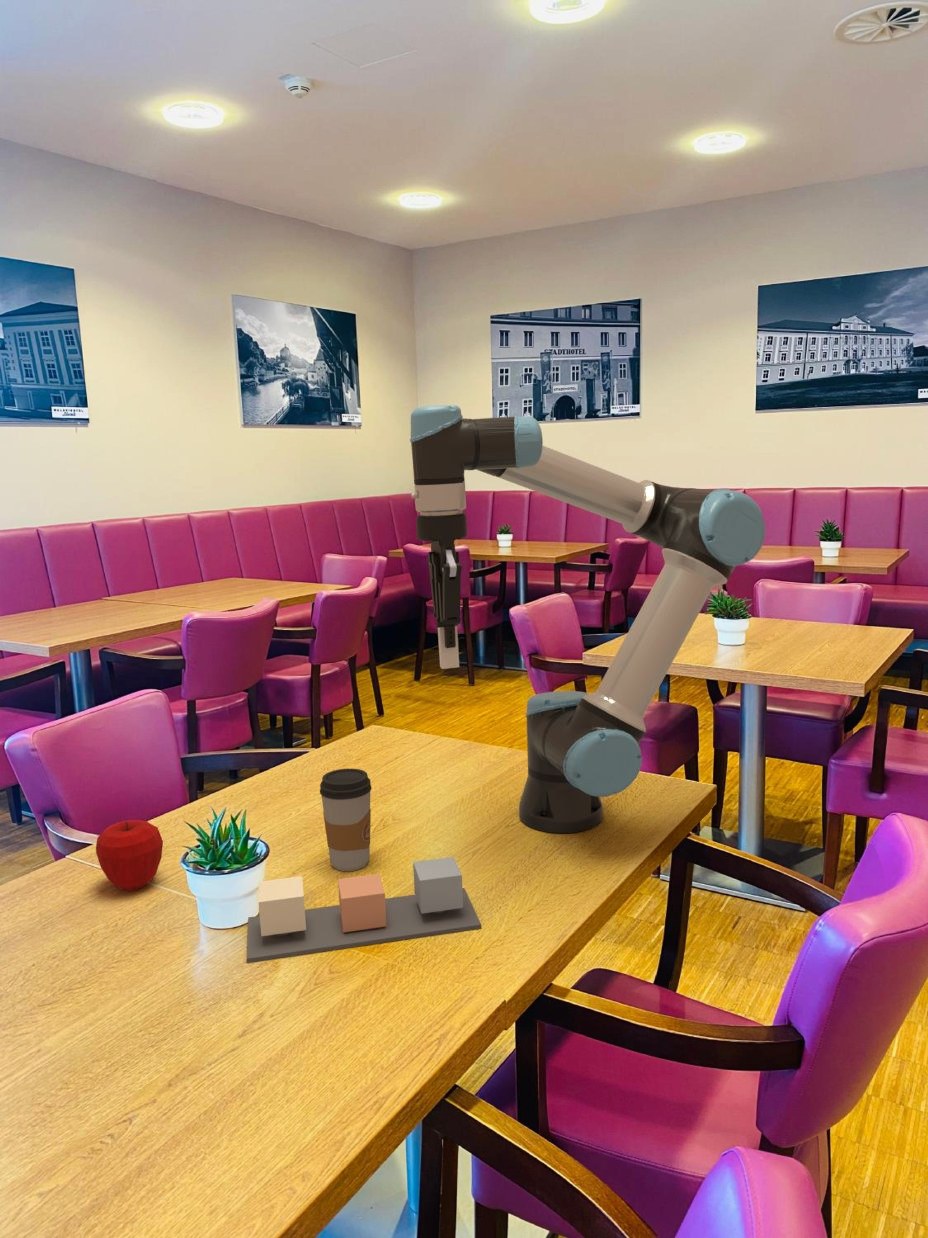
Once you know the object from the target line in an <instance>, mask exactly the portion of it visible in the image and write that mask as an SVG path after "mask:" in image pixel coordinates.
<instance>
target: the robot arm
mask: <svg viewBox="0 0 928 1238" xmlns="http://www.w3.org/2000/svg"><path fill="white" fill-rule="evenodd" d="M409 441H410V443H411V445H410V446H411V455H412V456H411V457H412V468H413V484H414V487H413V488H414V490H415V491H411V493H410V497H411V498H412V499H414V500H415V501H414V503H415V511H416V512H417V513H419V515H417V516H416V517H415V526H416V527H415V528H416V538H417V539H418V540H419V541H422V542H430V551H428V552H427V557H426V561H427V565H428V570H429V581H430V589H431V597H432V598H431V599H432V608H433V609H432V610H433V617H434V618H435V621H436V623H435V628H436V629H437V637H438V653H439V654H438V655H439V667H440V669H442V670H444V669H445V670H446V669H455V668H460V656H459V653H460V652H459V637H458V636H459V635H458V625H460V624H461V622H462V621H461V620H462V617H461V586H462V585H461V582H462V581H461V576H462V569H463V565H462V563H461V562H460V552H459V551H456V546H455V541H456V540H462V539H465V538H467V536H468V523H467V522H468V521H467V518H468V517H467V515H466V513H465V512H463V511H464V510H465V509H467V498H466V497H467V496H466V482H465V471H474V470H476V471H478V472H482V473H485V474H487V475H490V476H493V477H496V478H499V479H502V480H504V481H507V482H510V483H513V484H516V485H518V486H521V487H523V488H525V489H528V490H531V491H533V492H537V493H540V494H541V495H544V496H547V497H550V498H552V499H555V500H558V501H560V502H563V503H566V504H568V505H571V506H573V507H577V508H579V509H582V510H584V511H587V512H590V513H592V514H595V515H598V516H601V517H603V518H606V519H609V520H612V521H614V522H617V523H620V524H621V526H622V527H623V529H624V531H625V532H627V533H630V534H632V535H634V536H636V537H639V538H641V539H644V540H646V541H648V542H650V543H652V544H654V545H657V546H659V547H660V548H662V550H661V553H662V556H663V560H664V561H663V562H664V565H663V567H662V569H661V571H660V573H659V574H658V576H657V578H656V580H655V582H654V584H653V586H652V587H651V589H650V592H649V593H648V595H647V597H646V598H645V600H644V602H643V604H642V606H641V607H640V610H639V612H638V614H636V615H637V616H636V617H635V619H634V621H633V622H632V624H631V626H630V628H629V630H628V632H627V633H626V636H625V638H624V640H623V641H622V642H621V645H620V647H619V648H618V651H617V652H616V653H615V656H614V658H613V660H612V662H611V664H610V665H609V667H608V668H607V671H606V672H605V674H604V676H603V678H602V680H601V682H599V683H600V684H599V686H598V687H597V689H596V690H595V691H594V692H592V693H588V692H584V691H577V690H576V691H575V690H561V691H548V692H547V691H546V692H542V693H537V694H534V695H532V696H531V697H529V699H528V700H527V703H526V712H525V717H526V743H527V778H526V781H525V784H524V787H523V791H522V794H521V797H520V800H519V803H518V817H519V820H520V821H521V822H522V824H523V825H525V826H527V827H529V828H532V829H534V830H536V831H541V832H545V833H546V832H547V833H553V834H554V833H555V834H561V833H562V834H567V833H568V834H569V833H570V834H571V833H578V832H583V831H587V830H589V829H592V828H595V827H597V826H598V825H599V824H600V823H602V820H603V817H604V815H603V810H604V808H603V807H604V806H603V802H602V799H601V798H606V797H607V798H608V797H610V796H613V795H617V794H619V793H621V792H623V791H625V790H626V789H628V788H629V786H631V784H632V783H634V781H635V780H636V778H638V775H639V773H640V770H641V768H642V763H643V757H642V751H641V747H640V742H641V741H642V740H643V738H644V736H645V733H646V731H647V728H646V725H645V721H644V716H645V713H646V712H647V710H648V708H649V707H650V705H651V703H652V701H653V699H654V697H655V696H656V694H657V692H658V690H659V688H660V686H661V684H662V682H663V681H664V679H665V677H666V675H667V673H668V671H669V670H670V668H671V665H672V664H673V662H674V660H675V658H676V657H677V655H678V653H679V651H680V649H681V647H682V645H684V644H683V643H684V642H685V640H686V638H687V636H688V635H689V632H690V631H691V628H692V627H693V625H694V624H695V623H696V622H695V621H696V619H697V617H698V616H699V614H700V612H701V610H702V608H703V607H704V605H705V603H706V601H707V600H708V598H709V596H710V595H711V592H712V590H713V589H714V588H716V587H719V586H723V585H725V584H727V583H728V581H729V579H730V577H731V575H732V573H733V572H734V571H735V568H736V567H737V566H741V565H745V564H746V563H749V562H751V561H752V560H753V559H755V557H756V556H758V553H759V552H760V550H761V549H762V547H763V544H764V541H765V537H766V523H765V521H764V516H763V512H762V509H761V507H760V505H758V503H757V502H756V501H755V500H754V499H753V498H751V497H750V495H747V494H746V493H744V492H740V491H735V490H732V489H728V488H717V489H710V488H709V489H707V488H705V489H704V488H695V487H694V488H693V487H679V486H671V485H670V486H669V485H664V484H659V483H656V482H654V481H651V480H649V479H644V480H641V481H639V482H638V481H635V480H632V479H630V478H626V477H625V476H622V475H619V474H617V473H615V472H612V471H609V470H606V469H604V468H601V467H599V466H596V465H594V464H591V463H588V462H587V461H583V460H581V459H579V458H575V457H573V456H570V455H568V454H565V453H563V452H560V451H558V450H556V449H553V448H550V447H547V446H545V445H543V442H544V441H543V432H542V428H541V425H540V423H539V422H538V420H537V418H534V417H533V416H518V415H514V416H503V417H502V416H499V417H485V418H483V417H482V418H464V417H463V415H462V410H461V407H460V406H458V405H454V404H452V405H429V406H428V405H427V406H419V407H416V408H414V409H413V411H412V412H411V413H410V439H409Z"/></svg>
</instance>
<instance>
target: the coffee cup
mask: <svg viewBox="0 0 928 1238" xmlns="http://www.w3.org/2000/svg"><path fill="white" fill-rule="evenodd" d="M319 788H320V789H319V794H320V796H321V802H322V808H323V813H322V814H323V820H324V827H325V829H324V830H325V835H326V842H327V848H328V854H329V862H330V864H331V866H332V867H333V869H335V870H337V871H341V872H353V871H358V870H361V869H363V868H365V867H366V866H367V865H368V863H369V861H370V854H371V853H370V848H371V847H370V846H371V817H372V816H371V812H372V810H371V792H372V783H371V779H370V778H369V775H368V773H367V771H365V770H363V769H359V768H340V769H334V770H331V771H329V772H327V773H325V774H323V775H322V778H321V782H320V783H319Z"/></svg>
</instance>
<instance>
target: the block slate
mask: <svg viewBox="0 0 928 1238" xmlns="http://www.w3.org/2000/svg"><path fill="white" fill-rule="evenodd" d="M412 864H413V865H412V869H413V870H412V871H413V890H414V891H413V892H414V895H415V896H416V899H417V902H418V905H419V908H420V911H421V914H423V913H430V912H437V911H444V910H451V909H458V908H463V890H462V888H463V874H462V872H461V870H460V868H459V865H458V863H457V861H456V860H455V857H454V856H448V857H440V858H433V859H424V860H417V861H413V862H412Z"/></svg>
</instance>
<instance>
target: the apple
mask: <svg viewBox="0 0 928 1238" xmlns="http://www.w3.org/2000/svg"><path fill="white" fill-rule="evenodd" d="M163 843H164V840H163V837H162V835H161V833H160V830H159V827H158V826H155V825H154V824H152V823H150V822H148V821H147V820H140V819H139V820H138V819H137V820H136V819H135V820H134V819H132V820H131V819H130V820H122V821H119V822H116V823H114V824H111V825H109V826H107V827H106V828H105V829H104V830H103V831H102V832H101V833H100V834H99V835H98V836H97V839H96V844H95V853H96V856H97V860H98V864H99V866H100V868H101V871H102V872H103V874H104V875H105V877H106V878H107V881H108V882H109V883H110V884H111V885H113V886H114V887H116V888H118V889H119V890H123V891H125V892H133V891H138V890H141V889H142V888H143V887H144V886H145V885H146V886H147V884H148V883H150V881H152V880H153V879H154V878H155V877H156V874H157V873H158V869H159V866H160V864H161V860H162V857H163V856H162V855H163V847H164V846H163V845H164V844H163Z"/></svg>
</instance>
